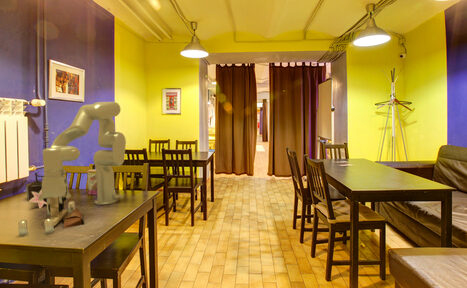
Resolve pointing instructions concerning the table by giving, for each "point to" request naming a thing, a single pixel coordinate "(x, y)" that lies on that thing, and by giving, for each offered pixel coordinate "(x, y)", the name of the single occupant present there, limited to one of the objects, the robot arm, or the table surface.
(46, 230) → the light bulbs
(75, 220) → the sunglasses case
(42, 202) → the lily
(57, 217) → the beige t-shaped block
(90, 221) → the table surface
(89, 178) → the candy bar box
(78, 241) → the table surface
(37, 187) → the manual coffee grinder
